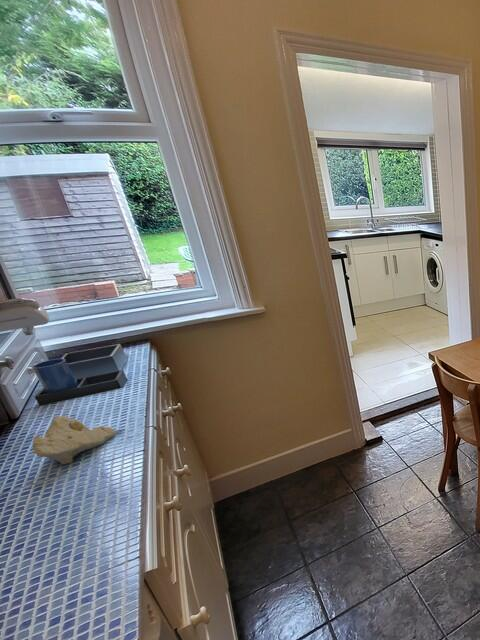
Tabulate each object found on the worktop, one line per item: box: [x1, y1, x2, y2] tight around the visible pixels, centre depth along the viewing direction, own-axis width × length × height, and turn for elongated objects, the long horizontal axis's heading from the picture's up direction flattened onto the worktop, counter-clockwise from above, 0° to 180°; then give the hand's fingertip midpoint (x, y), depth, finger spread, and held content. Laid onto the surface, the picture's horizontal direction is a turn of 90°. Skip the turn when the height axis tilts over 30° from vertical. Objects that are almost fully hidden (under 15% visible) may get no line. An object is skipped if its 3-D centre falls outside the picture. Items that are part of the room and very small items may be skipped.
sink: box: [60, 343, 128, 379], centre depth 138 cm, size 14×14×6 cm
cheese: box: [32, 415, 117, 465], centre depth 92 cm, size 15×7×15 cm
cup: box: [31, 358, 79, 394], centre depth 120 cm, size 7×7×11 cm
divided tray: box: [34, 369, 128, 407], centre depth 123 cm, size 18×9×4 cm, turn 123°
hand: (3, 337), depth 103 cm, fingers open, 8 cm apart
